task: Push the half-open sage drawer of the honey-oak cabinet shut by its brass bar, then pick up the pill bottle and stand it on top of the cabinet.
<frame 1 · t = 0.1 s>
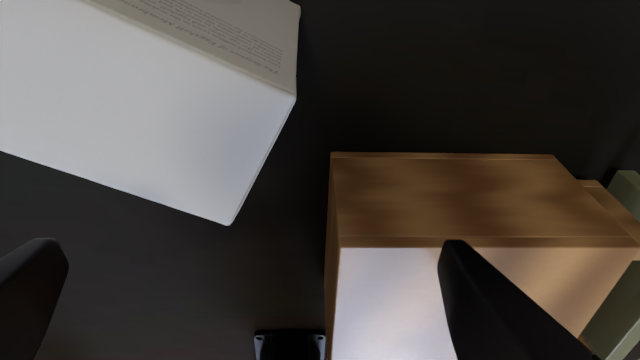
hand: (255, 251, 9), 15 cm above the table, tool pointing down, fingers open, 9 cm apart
cabinet: (424, 224, 29), on the table
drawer: (556, 269, 26), point 4 cm above the table, slide at 4.0 cm
cosmetics box: (186, 17, 20), on the table
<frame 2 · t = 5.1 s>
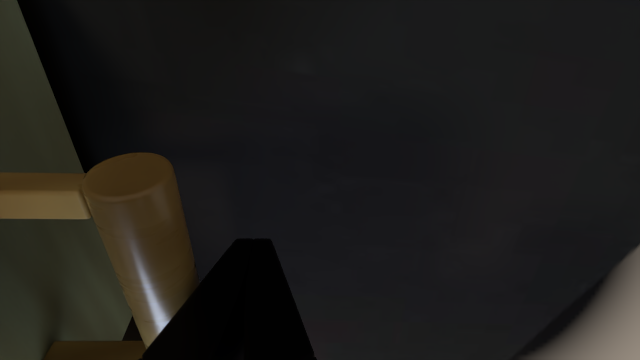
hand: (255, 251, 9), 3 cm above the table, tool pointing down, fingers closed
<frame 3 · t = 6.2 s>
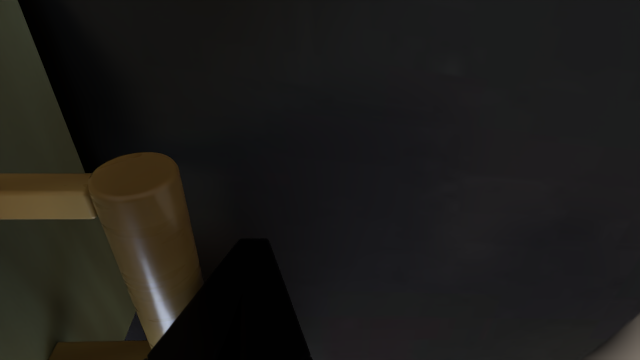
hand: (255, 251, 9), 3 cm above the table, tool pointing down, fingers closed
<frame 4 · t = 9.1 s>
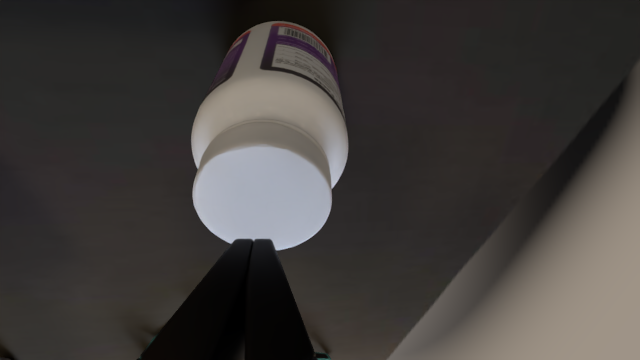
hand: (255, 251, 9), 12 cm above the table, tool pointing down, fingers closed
pill bottle: (282, 75, 19), on the table
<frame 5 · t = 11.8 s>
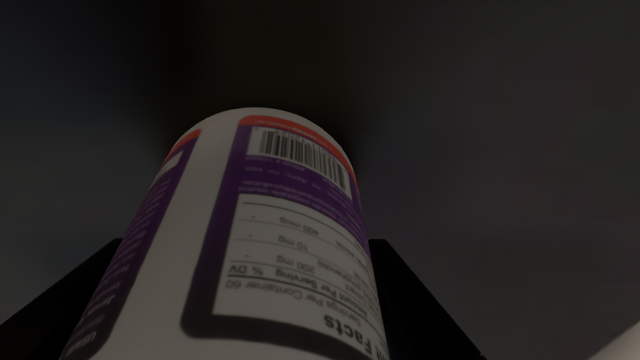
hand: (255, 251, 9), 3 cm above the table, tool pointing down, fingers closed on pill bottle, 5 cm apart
pill bottle: (264, 183, 11), on the table, touching gripper
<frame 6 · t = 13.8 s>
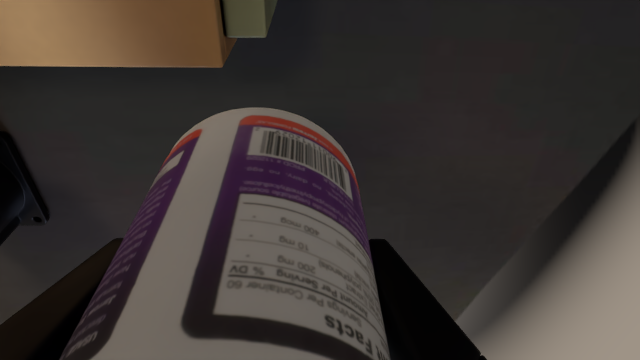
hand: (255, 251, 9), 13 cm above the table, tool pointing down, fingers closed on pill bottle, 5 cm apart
pill bottle: (264, 183, 11), point 10 cm above the table, touching gripper
when the fingers open (11 cm above the table, at t = 15.9 s): pill bottle stays where it is, resting on cabinet.
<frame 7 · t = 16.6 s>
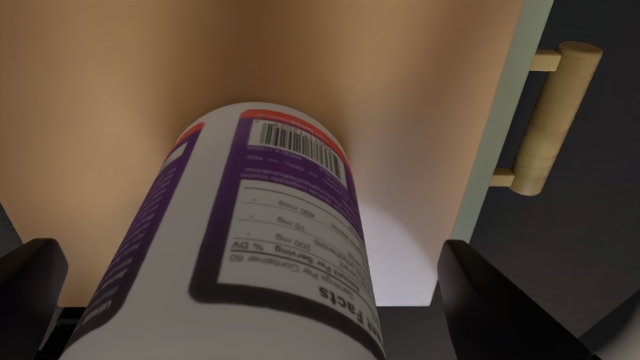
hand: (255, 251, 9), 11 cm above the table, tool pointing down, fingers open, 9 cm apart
cabinet: (259, 74, 19), on the table
pill bottle: (264, 176, 12), point 8 cm above the table, touching cabinet
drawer: (343, 116, 15), point 4 cm above the table, slide at 0.0 cm, touching cabinet
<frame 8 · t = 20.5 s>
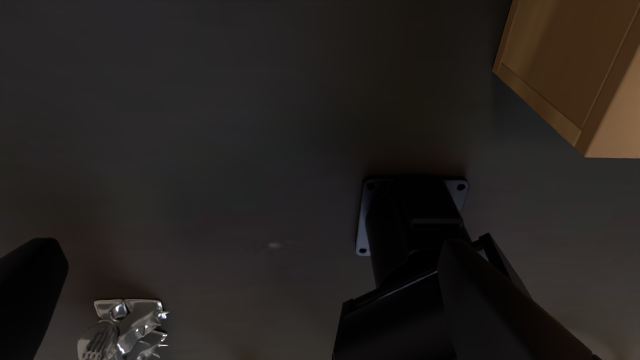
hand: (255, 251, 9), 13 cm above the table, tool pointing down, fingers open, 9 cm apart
robot toy: (132, 330, 33), on the table
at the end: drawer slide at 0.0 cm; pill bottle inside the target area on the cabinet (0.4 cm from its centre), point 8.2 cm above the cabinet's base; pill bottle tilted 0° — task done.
